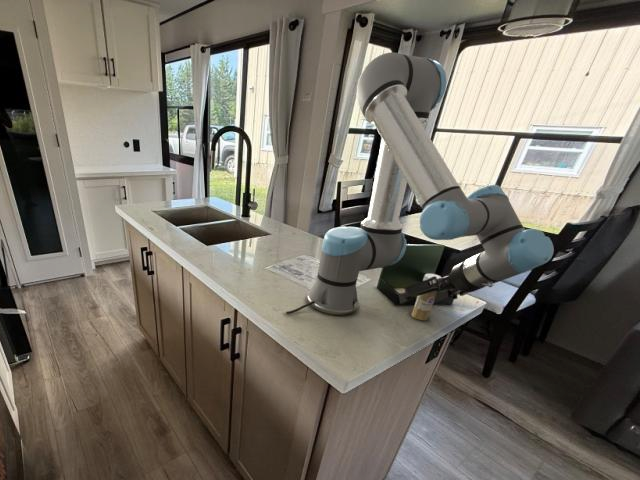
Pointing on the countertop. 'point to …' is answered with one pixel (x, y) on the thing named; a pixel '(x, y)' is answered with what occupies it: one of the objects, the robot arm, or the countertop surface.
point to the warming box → (410, 272)
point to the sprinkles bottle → (424, 302)
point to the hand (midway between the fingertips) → (417, 299)
